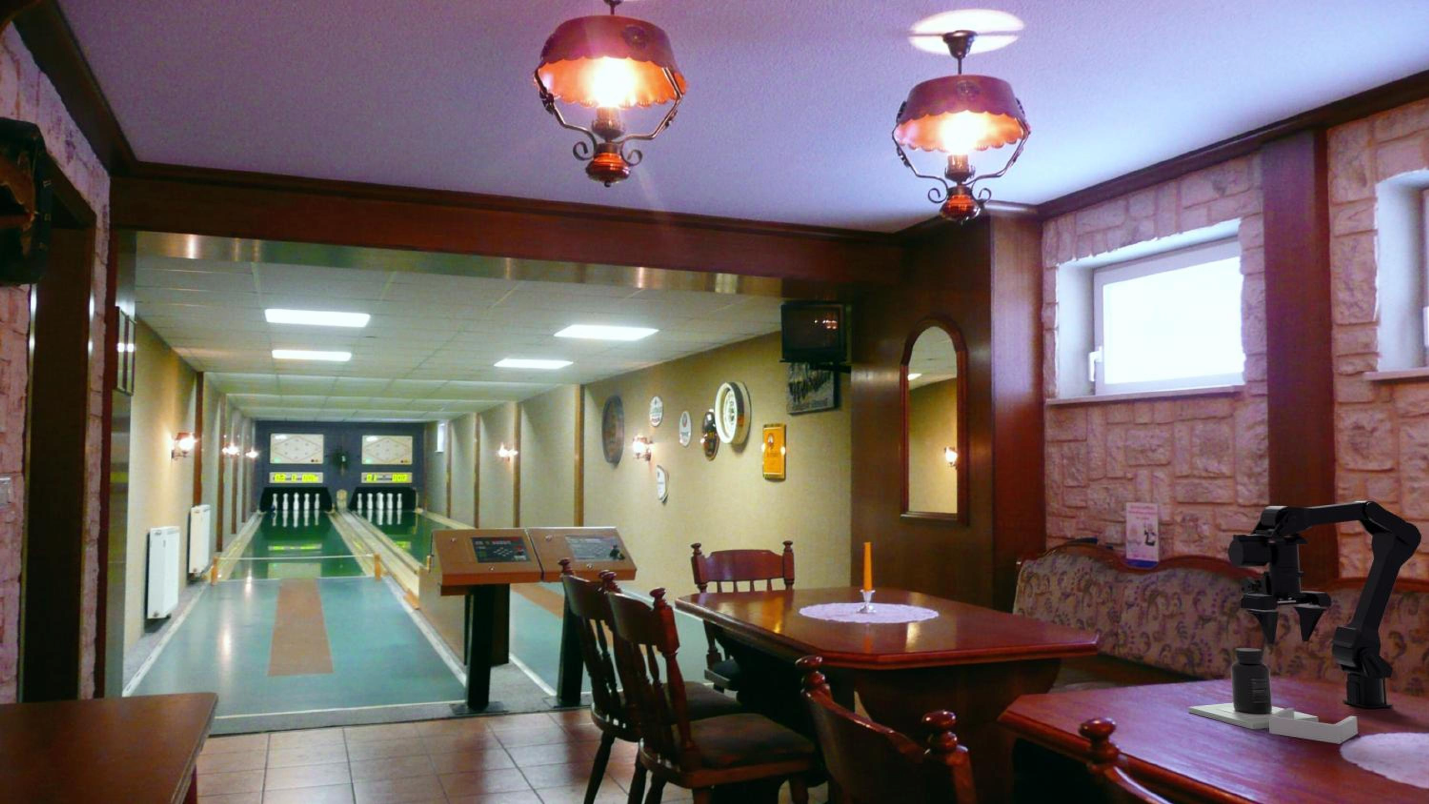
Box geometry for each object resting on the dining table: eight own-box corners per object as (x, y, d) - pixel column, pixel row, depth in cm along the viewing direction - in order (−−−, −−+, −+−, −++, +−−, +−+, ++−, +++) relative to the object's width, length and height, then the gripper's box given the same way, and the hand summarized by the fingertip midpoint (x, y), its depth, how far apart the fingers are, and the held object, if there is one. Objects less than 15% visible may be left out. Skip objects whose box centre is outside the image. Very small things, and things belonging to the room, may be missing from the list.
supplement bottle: (1273, 709, 202) (1269, 648, 203) (1271, 716, 196) (1267, 653, 197) (1234, 706, 206) (1231, 645, 207) (1231, 712, 200) (1228, 650, 201)
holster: (1289, 723, 195) (1288, 707, 195) (1357, 733, 187) (1356, 716, 187) (1269, 733, 188) (1268, 716, 188) (1339, 743, 179) (1338, 726, 180)
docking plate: (1250, 705, 211) (1250, 700, 211) (1318, 722, 196) (1317, 716, 196) (1188, 712, 206) (1188, 706, 206) (1253, 729, 191) (1252, 723, 191)
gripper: (1285, 562, 222) (1290, 635, 221) (1217, 565, 216) (1221, 640, 215) (1330, 565, 212) (1335, 642, 210) (1260, 569, 206) (1265, 647, 205)
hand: (1288, 642), depth 210 cm, fingers open, 9 cm apart
